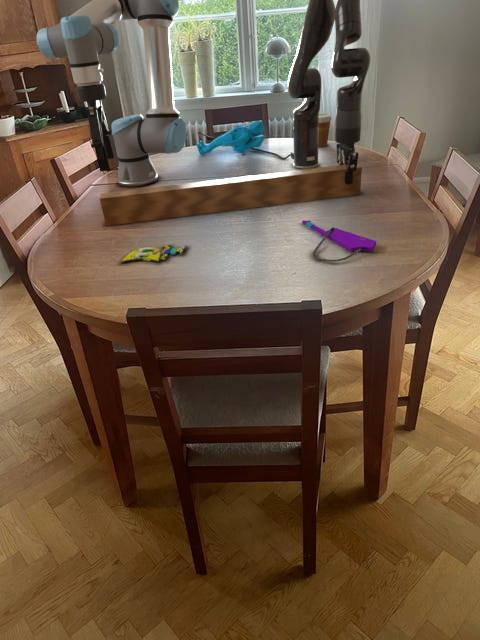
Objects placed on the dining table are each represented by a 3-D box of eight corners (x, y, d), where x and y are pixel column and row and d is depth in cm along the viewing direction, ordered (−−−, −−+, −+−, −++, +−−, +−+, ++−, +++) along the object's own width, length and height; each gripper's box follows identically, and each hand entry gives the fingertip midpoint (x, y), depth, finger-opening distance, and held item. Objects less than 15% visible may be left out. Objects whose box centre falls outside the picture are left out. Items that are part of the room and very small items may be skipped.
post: (106, 226, 147) (99, 198, 142) (107, 220, 151) (101, 193, 146) (360, 194, 153) (362, 167, 148) (355, 189, 157) (356, 163, 152)
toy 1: (177, 259, 120) (120, 260, 122) (177, 262, 121) (121, 263, 123) (186, 242, 129) (132, 243, 131) (186, 245, 129) (133, 246, 131)
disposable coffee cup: (306, 147, 207) (306, 118, 200) (312, 142, 214) (312, 113, 207) (328, 148, 203) (328, 117, 197) (333, 142, 211) (334, 113, 204)
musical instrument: (359, 272, 111) (387, 230, 123) (358, 264, 110) (387, 222, 122) (269, 260, 124) (303, 223, 136) (267, 253, 122) (302, 216, 134)
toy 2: (202, 134, 216) (265, 114, 206) (210, 157, 221) (271, 139, 211) (191, 144, 203) (258, 123, 192) (200, 168, 208) (265, 149, 197)
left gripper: (98, 88, 118) (117, 174, 130) (107, 77, 139) (123, 152, 150) (67, 91, 117) (89, 177, 129) (81, 80, 138) (99, 155, 150)
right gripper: (368, 128, 137) (365, 186, 147) (352, 119, 149) (349, 173, 159) (343, 131, 137) (341, 189, 146) (328, 121, 149) (327, 176, 158)
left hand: (107, 164), depth 140 cm, fingers open, 13 cm apart
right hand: (345, 181), depth 152 cm, fingers closed on post, 5 cm apart
